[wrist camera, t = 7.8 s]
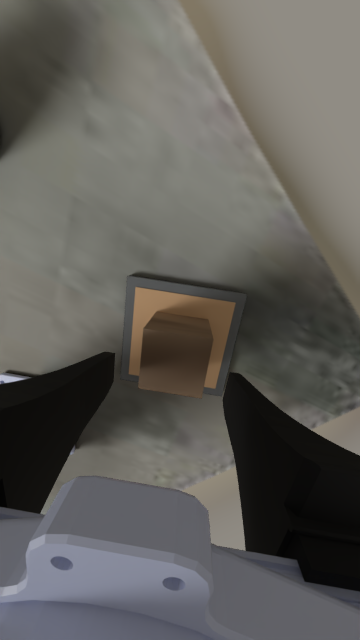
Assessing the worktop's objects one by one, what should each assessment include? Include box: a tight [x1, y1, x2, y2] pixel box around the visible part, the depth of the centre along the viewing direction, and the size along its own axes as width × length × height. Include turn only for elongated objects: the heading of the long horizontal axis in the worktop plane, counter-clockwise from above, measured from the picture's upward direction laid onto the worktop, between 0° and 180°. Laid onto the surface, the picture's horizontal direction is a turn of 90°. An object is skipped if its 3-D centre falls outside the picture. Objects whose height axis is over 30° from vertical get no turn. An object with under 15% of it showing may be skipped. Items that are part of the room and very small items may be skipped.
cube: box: [138, 311, 214, 399], centre depth 15 cm, size 4×4×4 cm
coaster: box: [120, 275, 247, 396], centre depth 18 cm, size 10×10×1 cm
